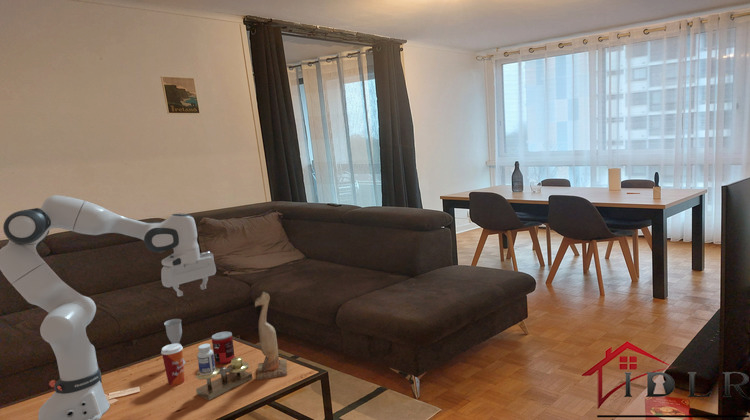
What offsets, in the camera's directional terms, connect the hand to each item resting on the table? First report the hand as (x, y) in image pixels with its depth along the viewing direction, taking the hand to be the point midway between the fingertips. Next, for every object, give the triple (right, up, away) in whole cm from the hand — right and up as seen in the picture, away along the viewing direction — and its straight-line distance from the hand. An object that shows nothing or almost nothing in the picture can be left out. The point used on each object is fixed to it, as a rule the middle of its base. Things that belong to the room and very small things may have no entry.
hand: (192, 292), depth 182 cm
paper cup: (-6, -34, +1) cm, 35 cm away
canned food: (+7, -31, +17) cm, 36 cm away
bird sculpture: (+30, -31, +4) cm, 43 cm away
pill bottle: (+10, -27, -11) cm, 30 cm away
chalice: (-12, -33, +18) cm, 39 cm away
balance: (+14, -33, -6) cm, 37 cm away
